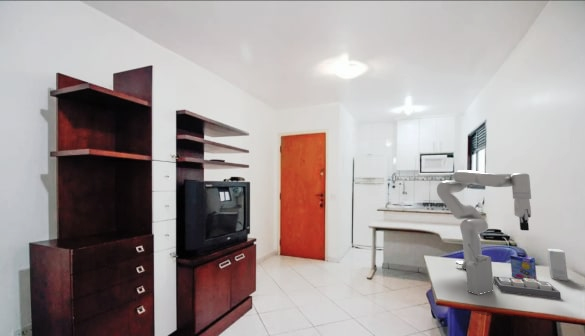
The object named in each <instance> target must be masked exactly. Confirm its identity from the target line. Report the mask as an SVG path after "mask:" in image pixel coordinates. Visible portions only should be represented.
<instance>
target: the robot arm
mask: <svg viewBox="0 0 585 336" xmlns="http://www.w3.org/2000/svg"><path fill="white" fill-rule="evenodd" d="M452 179H453V180H443V181H440V182H439V183H438V185H437V187H436V193H437V196H438V198H439V199H440V200H441V201H442V203H444V205H445V206H446V208H447V209H448V210H449V212H450V213H451V214H452V215H453V217H454V218H455V219H457V220H462V221H461V223H460V225H459V226H460V228H459V229H460V233H461V236H462V247H463V248H462V249H463V260H461V261H459V260H455V264H456V265H459V266H461V269H463V268H464V269H466V265H467V263H468V262H469V261H471V260H472V257H473V253H472V251H471V249H470V247H469V246H468V244H470V245H471V247H472V248H473V249H474V252H475V256H477V255H483V254H482V244H481V238H480V236H479V234H482V233H486V232H487V231H488V229H489V224H488V223H487V221H486V220H485V218H484V217H483V216H482V214H480V212H479V211H478V210H477V208H476V207H474V206H473V205H471V204H463V203H462V202H461V201H460V200H459V199H458V198H457V196H455V195H454V194H455V193H460V192H462V191H463V190H464V189H466V188H467V187H469V186H470V185H474V186H475V185H476V186H484V187H491V188H492V187H493V188H508V187H511V189H512V190H511V192H512V200H513V199H514V201H513V205H514V207H513V209H514V210H513V212H514V216H515V217H517V218H518V220H519V229H520V230H521V231H529V230H530V228H529V227H530V226H529V218H531V217H532V208H531V202H530V200H531V199H532V192H531V191H532V190H531V189H532V188H531V178H530V174H528V173H524V172H523V173H522V172H521V173H485V172H482V171H479V170H477V171H475V170H470V169H466V170H465V169H463V170H462V169H461V170H457V171H455V172H454V173H453V175H452ZM452 193H453V194H452ZM464 269H463V270H464Z"/></svg>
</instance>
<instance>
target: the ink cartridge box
mask: <svg viewBox="0 0 585 336" xmlns="http://www.w3.org/2000/svg"><path fill="white" fill-rule="evenodd" d="M516 253H517V254H516ZM516 253H514V254H511V255H510V256H509V258H510V269H511V277H512V278H513V277H514V278H516V279H523V278H528V279H534V280H535V281H538V280H537V279H538V278H537V271H536V270H537V269H536V259H535V257H532V256H528V255H526V254H525V252H524V253H523V252H518V251H517V252H516Z"/></svg>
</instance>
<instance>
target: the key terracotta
mask: <svg viewBox="0 0 585 336" xmlns="http://www.w3.org/2000/svg"><path fill="white" fill-rule="evenodd" d="M517 279H518V278H515V279H511V282H512V283H513V284H514V285H515V286H518V287H525V286H524V282H523V281H522V280H517Z"/></svg>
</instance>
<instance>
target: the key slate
mask: <svg viewBox="0 0 585 336" xmlns="http://www.w3.org/2000/svg"><path fill="white" fill-rule="evenodd" d="M508 278H509V277H506V278H499V282H500V283H501V284H502V285H509V286H512V285H511V281H510V280H509V279H508Z"/></svg>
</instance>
